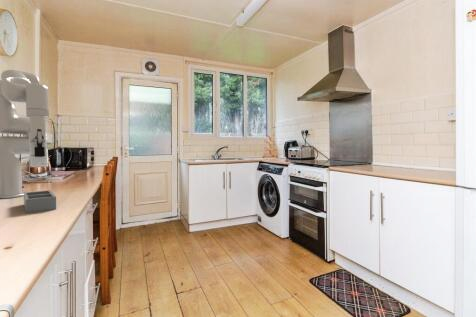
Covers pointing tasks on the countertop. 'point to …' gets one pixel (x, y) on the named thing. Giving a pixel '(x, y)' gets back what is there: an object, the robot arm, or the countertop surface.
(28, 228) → the countertop surface
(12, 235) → the countertop surface
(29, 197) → the holder
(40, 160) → the syrup box
